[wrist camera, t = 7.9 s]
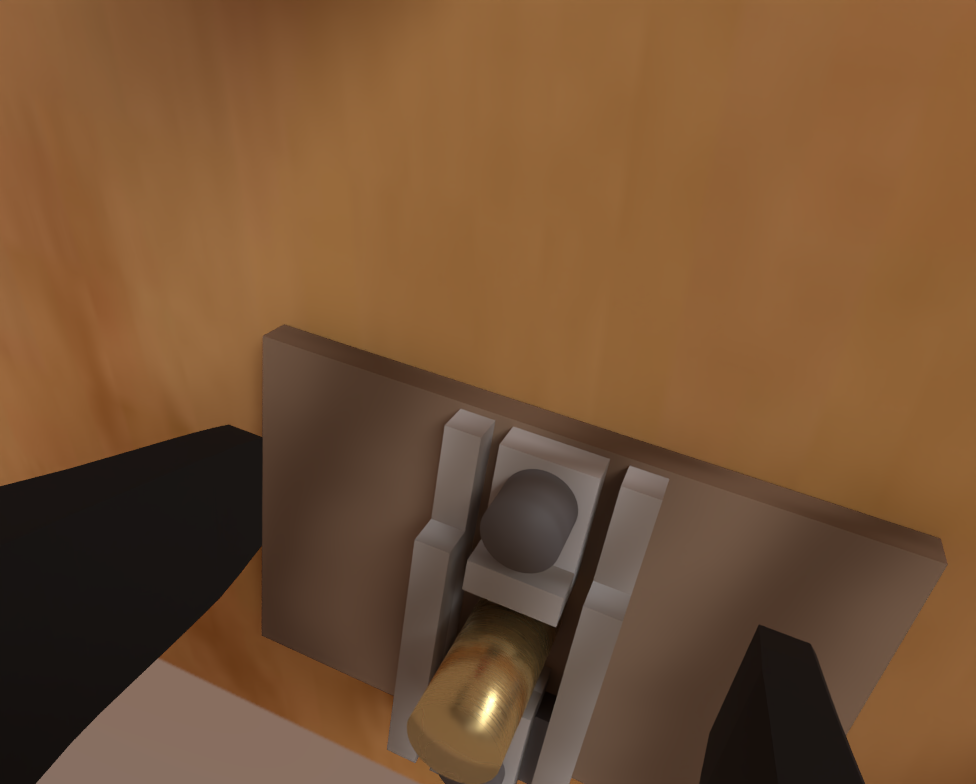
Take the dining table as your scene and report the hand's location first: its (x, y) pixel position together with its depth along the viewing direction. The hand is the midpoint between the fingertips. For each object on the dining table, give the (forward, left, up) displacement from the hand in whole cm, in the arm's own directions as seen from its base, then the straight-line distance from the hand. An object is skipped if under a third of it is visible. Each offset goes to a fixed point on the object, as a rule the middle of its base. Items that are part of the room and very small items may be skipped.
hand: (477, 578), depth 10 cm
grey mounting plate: (+6, +6, -9) cm, 13 cm away
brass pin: (+6, +6, -8) cm, 12 cm away
